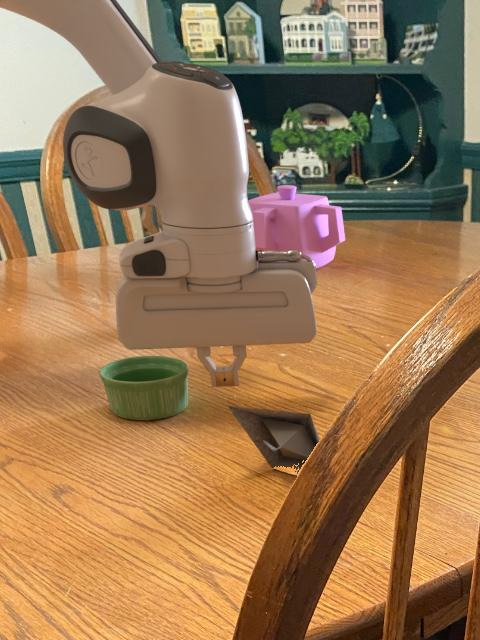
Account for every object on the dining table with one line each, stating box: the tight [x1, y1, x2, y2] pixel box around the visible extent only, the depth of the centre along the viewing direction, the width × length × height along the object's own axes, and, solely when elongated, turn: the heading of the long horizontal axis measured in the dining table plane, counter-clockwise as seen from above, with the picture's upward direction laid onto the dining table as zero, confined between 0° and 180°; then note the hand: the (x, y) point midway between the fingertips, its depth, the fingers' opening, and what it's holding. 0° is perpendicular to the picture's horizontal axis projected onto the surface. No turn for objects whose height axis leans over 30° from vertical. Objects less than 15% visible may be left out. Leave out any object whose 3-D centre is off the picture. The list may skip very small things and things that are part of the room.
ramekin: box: [98, 355, 190, 421], centre depth 96 cm, size 9×9×4 cm
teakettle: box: [248, 184, 346, 270], centre depth 154 cm, size 17×17×12 cm
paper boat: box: [227, 405, 321, 477], centre depth 83 cm, size 12×6×9 cm
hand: (225, 385), depth 98 cm, fingers closed
